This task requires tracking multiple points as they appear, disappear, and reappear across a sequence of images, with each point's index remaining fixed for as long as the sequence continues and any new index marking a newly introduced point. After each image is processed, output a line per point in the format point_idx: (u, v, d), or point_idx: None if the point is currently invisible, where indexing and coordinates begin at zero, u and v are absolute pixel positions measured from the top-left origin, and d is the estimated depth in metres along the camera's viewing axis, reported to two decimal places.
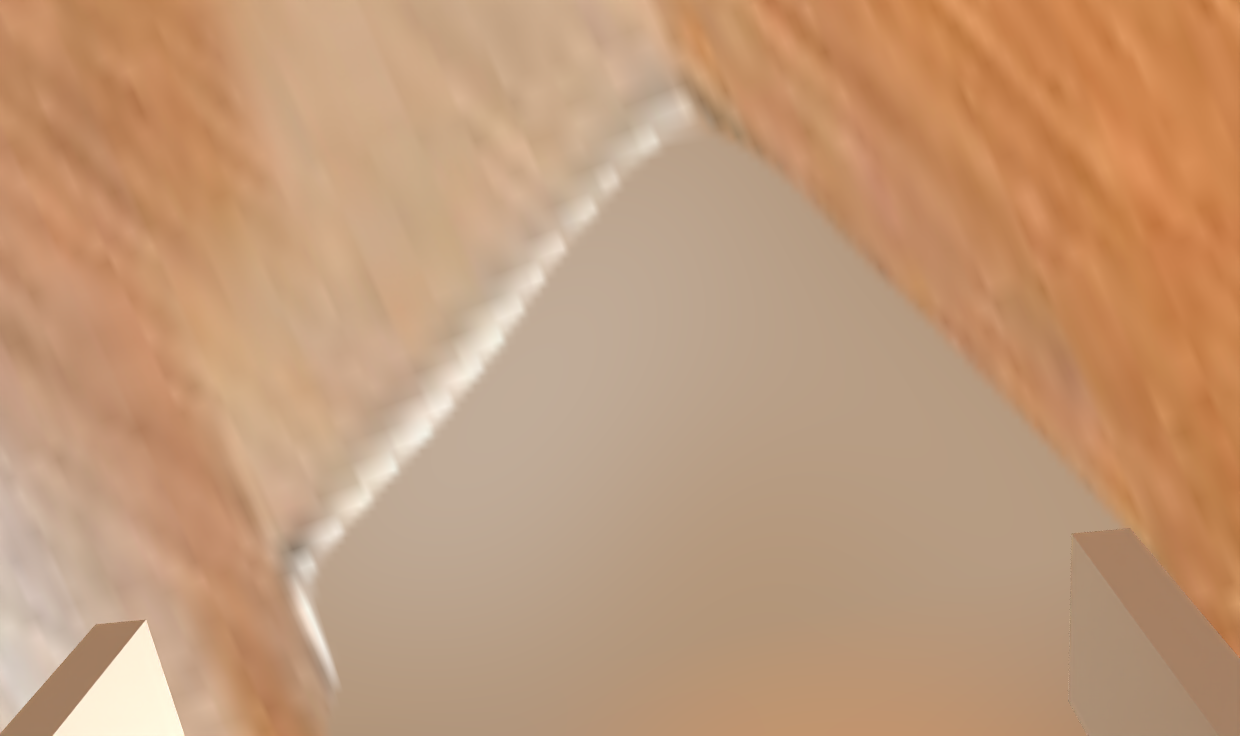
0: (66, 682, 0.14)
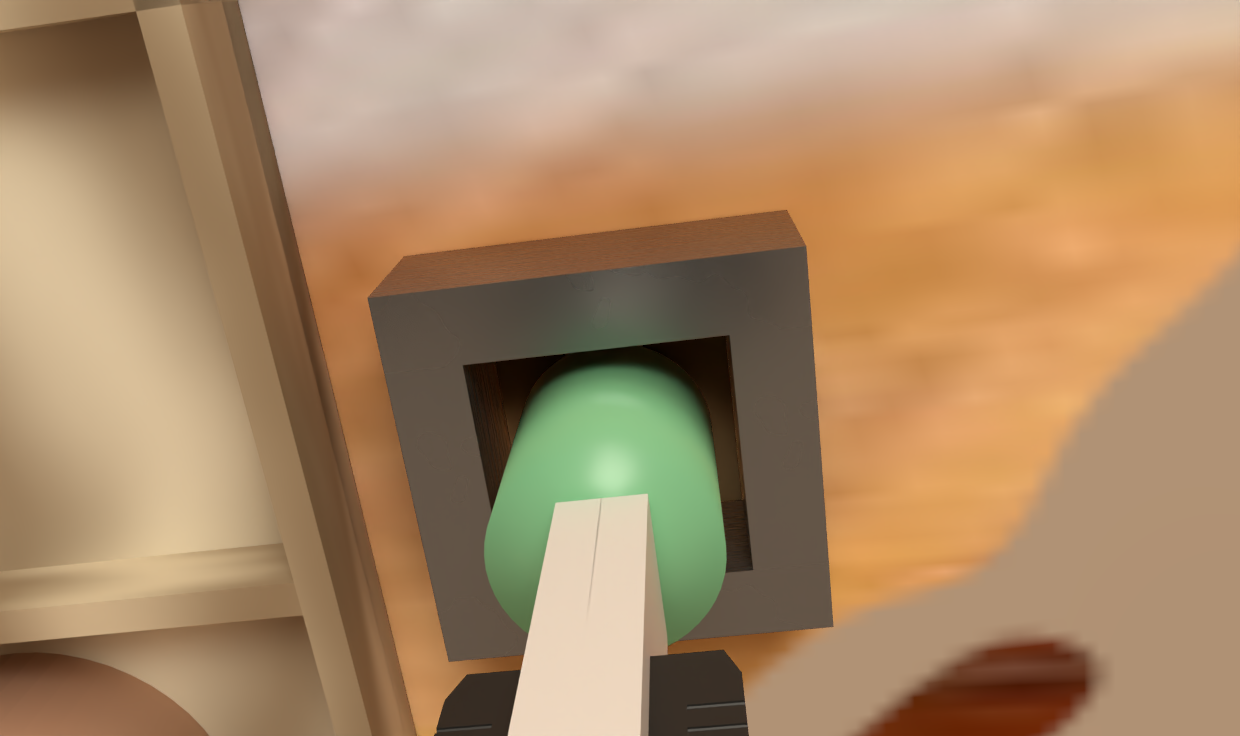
0: (568, 544, 0.15)
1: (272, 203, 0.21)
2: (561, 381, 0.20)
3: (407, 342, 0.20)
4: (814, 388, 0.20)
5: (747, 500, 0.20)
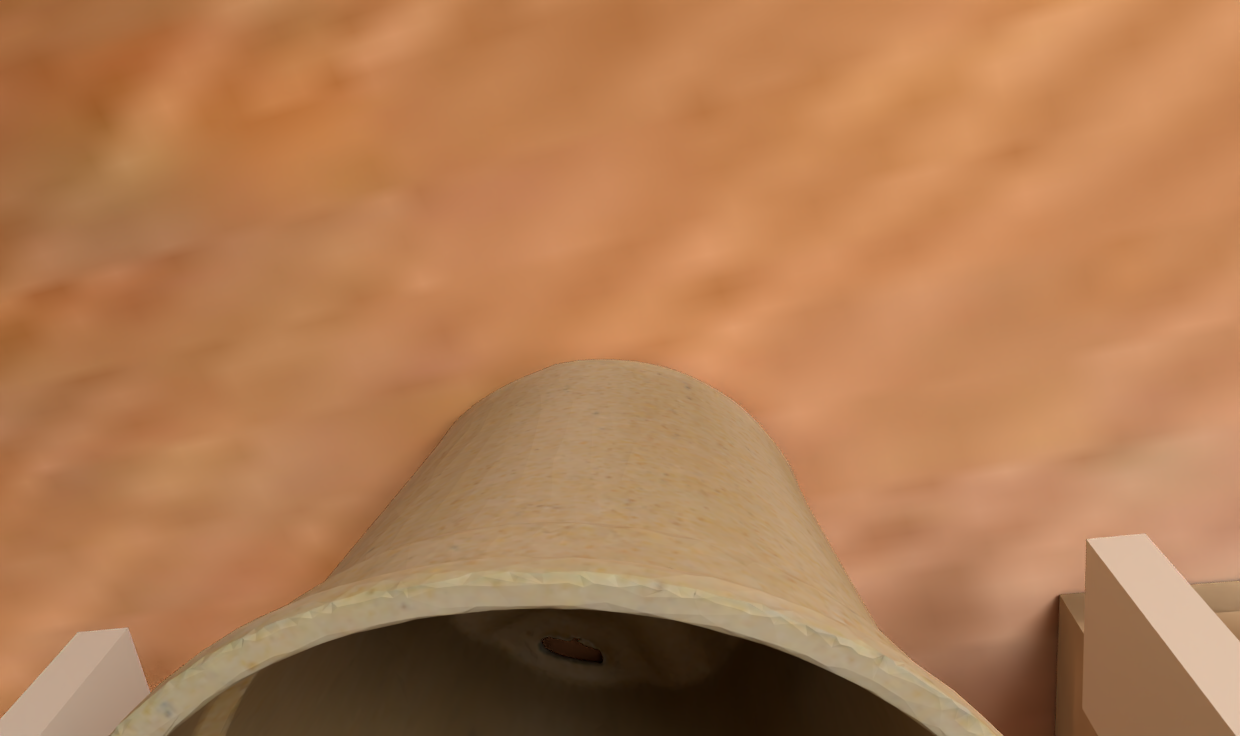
0: (45, 692, 0.14)
1: None
2: None
3: None
4: None
5: None
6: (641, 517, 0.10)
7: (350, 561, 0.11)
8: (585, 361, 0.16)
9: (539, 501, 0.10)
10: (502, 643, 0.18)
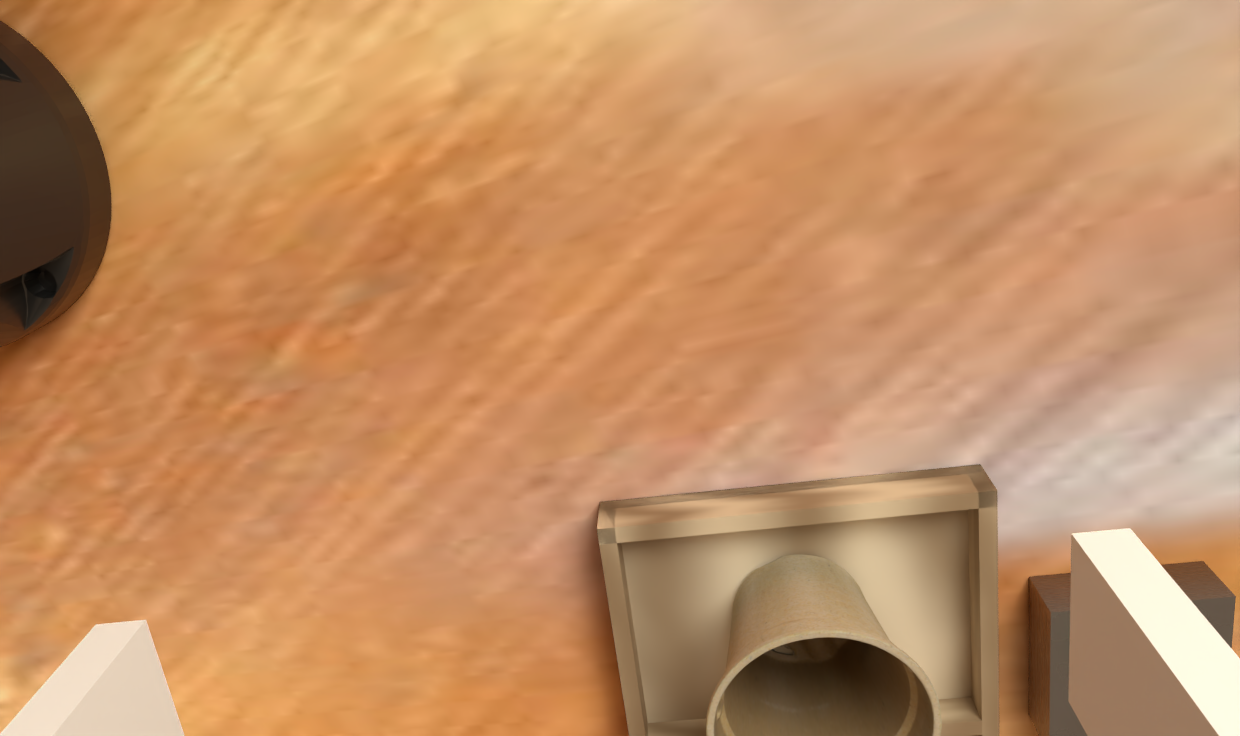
0: (65, 682, 0.14)
1: None
2: None
3: (1063, 629, 0.48)
4: None
5: None
6: (835, 615, 0.43)
7: (759, 625, 0.44)
8: (794, 555, 0.49)
9: (809, 611, 0.44)
10: None
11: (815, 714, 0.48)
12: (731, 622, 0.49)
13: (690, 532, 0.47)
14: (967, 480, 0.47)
